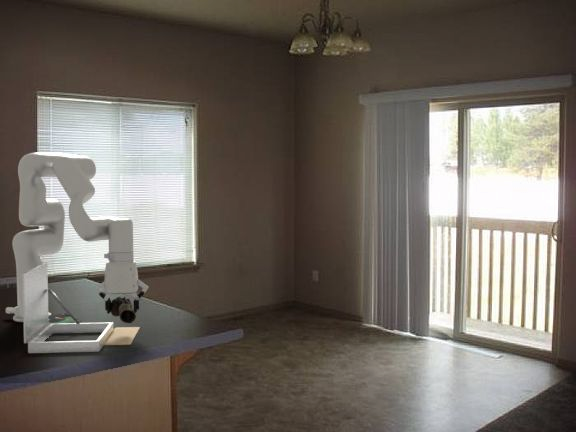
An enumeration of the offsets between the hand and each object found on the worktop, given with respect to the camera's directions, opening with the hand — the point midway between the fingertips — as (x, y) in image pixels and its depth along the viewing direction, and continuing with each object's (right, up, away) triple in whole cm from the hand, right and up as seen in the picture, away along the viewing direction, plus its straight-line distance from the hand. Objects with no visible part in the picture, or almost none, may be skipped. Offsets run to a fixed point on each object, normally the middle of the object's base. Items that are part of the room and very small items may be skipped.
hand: (122, 311), depth 199 cm
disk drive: (-26, -8, +15) cm, 31 cm away
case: (-14, -8, -6) cm, 17 cm away
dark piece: (0, -2, -1) cm, 2 cm away
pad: (0, -8, +1) cm, 8 cm away
